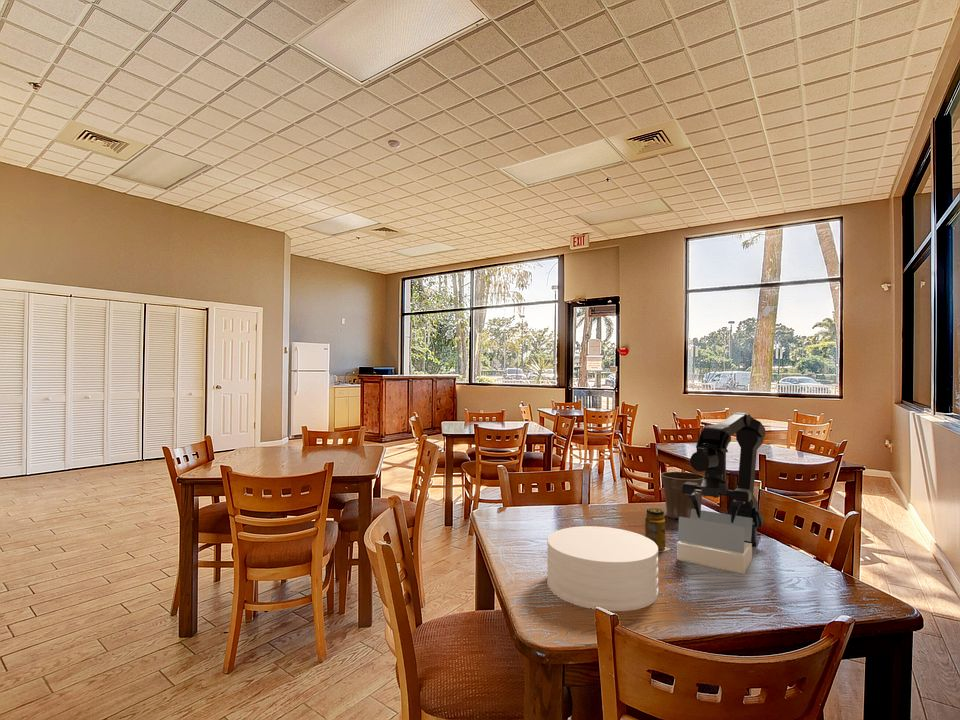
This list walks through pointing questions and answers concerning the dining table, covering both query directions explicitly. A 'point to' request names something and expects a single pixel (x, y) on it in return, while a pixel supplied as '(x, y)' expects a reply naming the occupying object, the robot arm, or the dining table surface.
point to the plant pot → (679, 493)
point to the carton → (715, 557)
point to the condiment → (656, 528)
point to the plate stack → (603, 568)
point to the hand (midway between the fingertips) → (715, 520)
